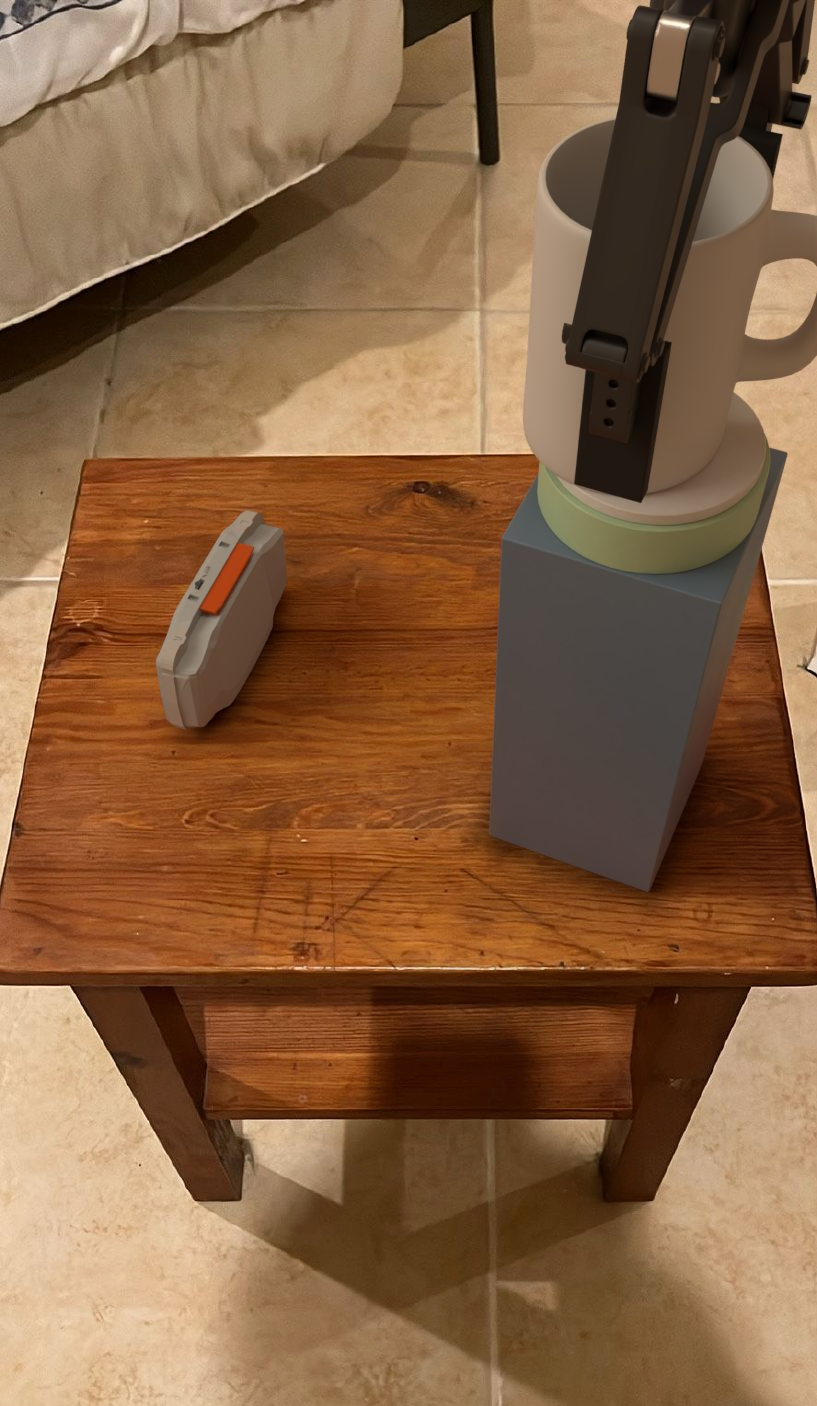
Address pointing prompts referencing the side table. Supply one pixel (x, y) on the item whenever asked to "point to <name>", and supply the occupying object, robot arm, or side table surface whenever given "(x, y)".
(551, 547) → the stand
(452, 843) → the side table surface
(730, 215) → the mug
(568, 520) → the round tin
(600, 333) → the robot arm
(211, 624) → the grey case
